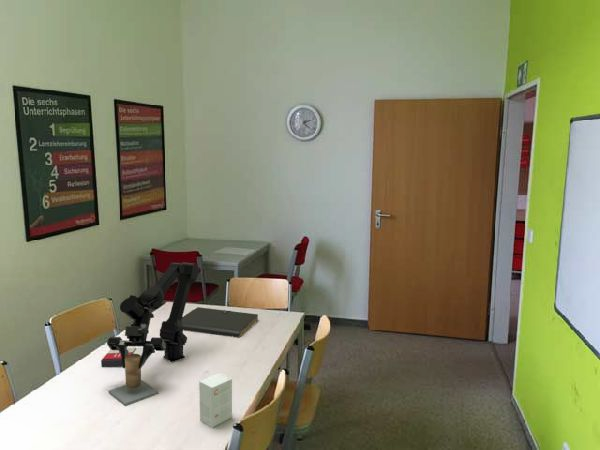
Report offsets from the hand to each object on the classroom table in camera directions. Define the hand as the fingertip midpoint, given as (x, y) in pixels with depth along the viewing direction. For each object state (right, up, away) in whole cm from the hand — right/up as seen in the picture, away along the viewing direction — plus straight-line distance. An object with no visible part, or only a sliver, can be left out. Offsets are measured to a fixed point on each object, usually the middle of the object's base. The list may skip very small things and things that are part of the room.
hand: (131, 368), depth 162 cm
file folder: (+17, -1, +70) cm, 72 cm away
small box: (+30, -12, -12) cm, 35 cm away
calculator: (-12, -6, +28) cm, 31 cm away
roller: (0, -6, +2) cm, 7 cm away
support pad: (0, -9, +3) cm, 10 cm away
